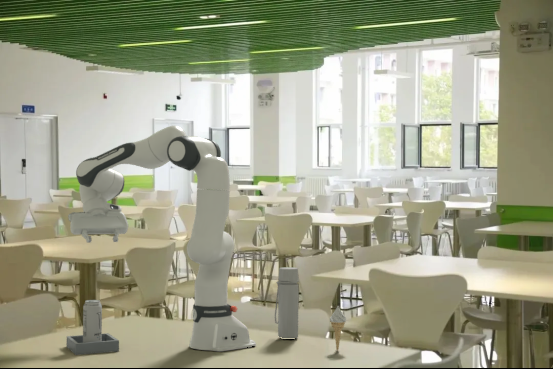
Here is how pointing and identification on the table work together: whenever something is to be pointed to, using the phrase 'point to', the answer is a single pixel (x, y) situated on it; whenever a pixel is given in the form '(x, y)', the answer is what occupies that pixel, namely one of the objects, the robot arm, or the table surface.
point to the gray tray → (92, 345)
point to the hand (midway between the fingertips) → (102, 241)
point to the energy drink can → (92, 321)
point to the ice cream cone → (337, 324)
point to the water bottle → (287, 302)
